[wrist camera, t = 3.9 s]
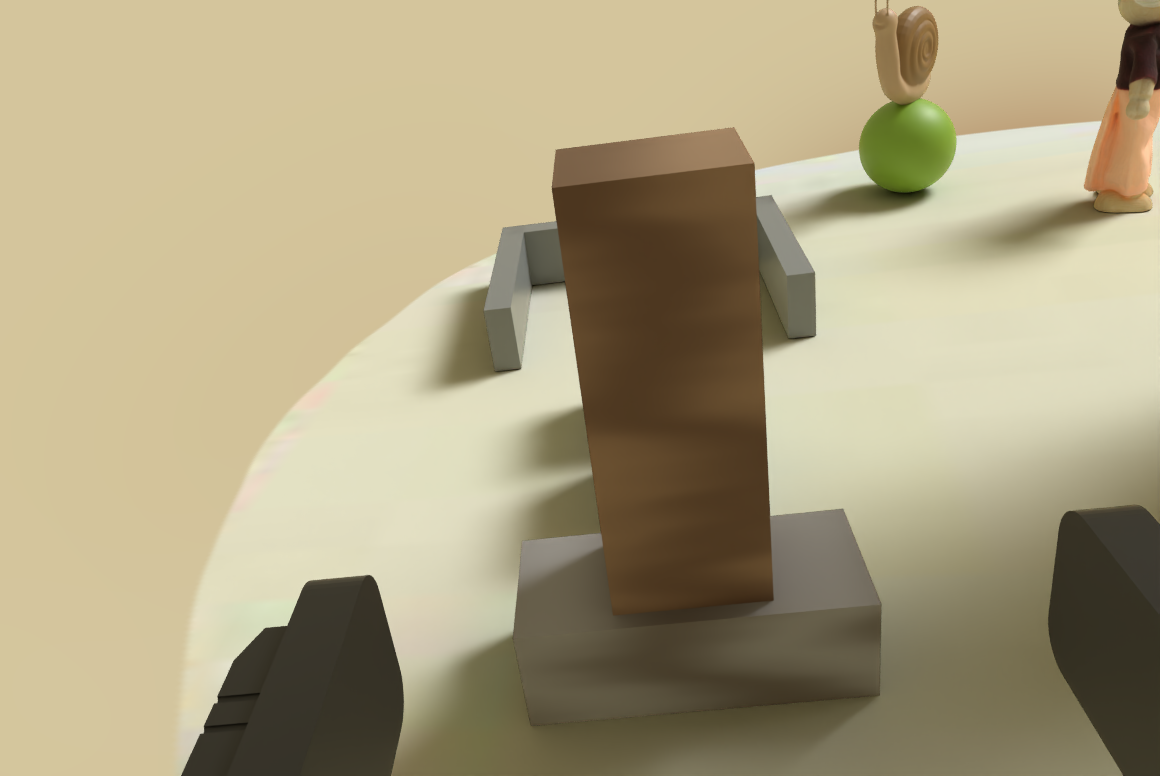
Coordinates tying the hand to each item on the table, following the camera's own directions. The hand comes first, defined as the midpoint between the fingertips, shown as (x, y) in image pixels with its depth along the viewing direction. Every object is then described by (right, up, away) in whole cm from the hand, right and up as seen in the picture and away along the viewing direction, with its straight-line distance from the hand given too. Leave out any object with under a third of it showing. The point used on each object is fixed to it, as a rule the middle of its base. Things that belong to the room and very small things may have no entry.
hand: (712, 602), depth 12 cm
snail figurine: (+18, +14, +47) cm, 52 cm away
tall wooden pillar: (+2, -5, +16) cm, 16 cm away
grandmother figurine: (+28, +12, +41) cm, 51 cm away
